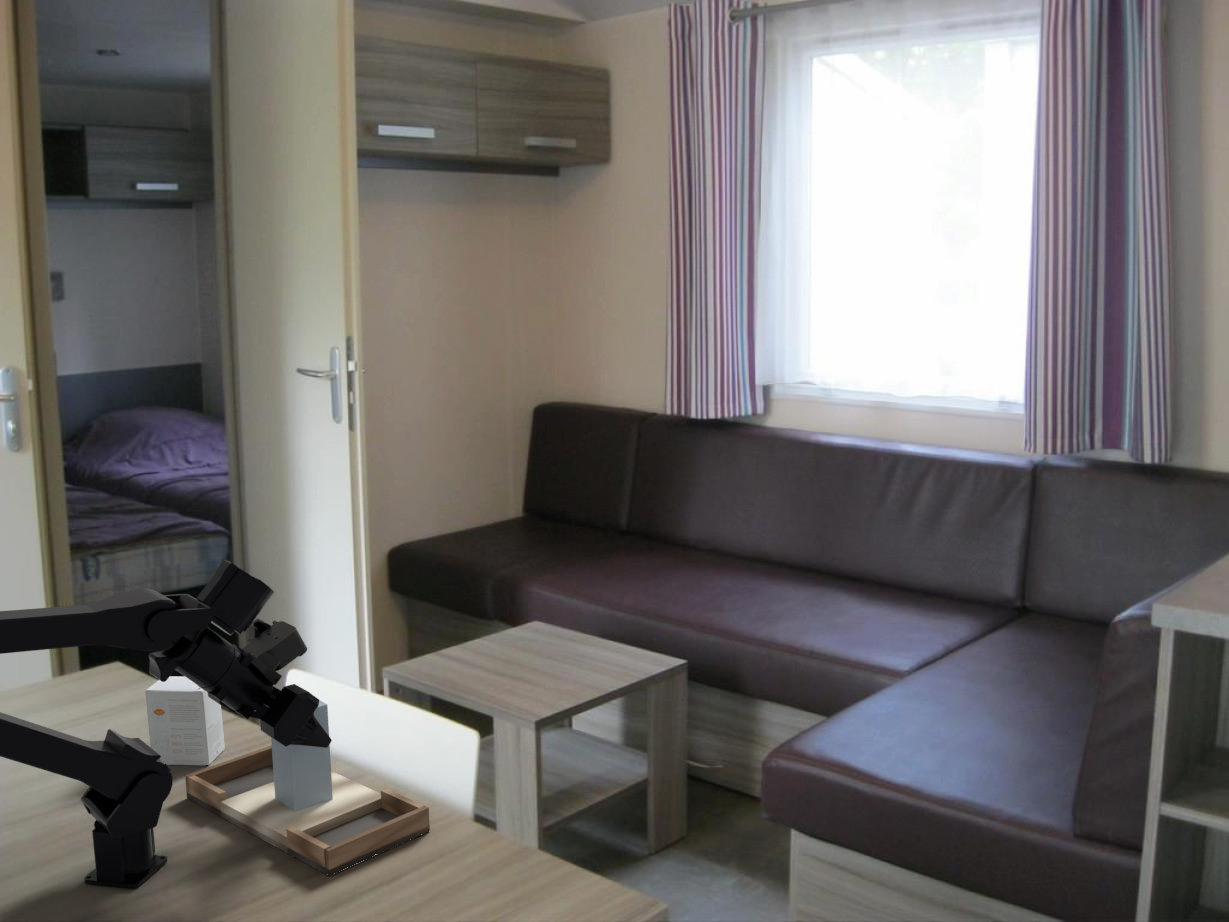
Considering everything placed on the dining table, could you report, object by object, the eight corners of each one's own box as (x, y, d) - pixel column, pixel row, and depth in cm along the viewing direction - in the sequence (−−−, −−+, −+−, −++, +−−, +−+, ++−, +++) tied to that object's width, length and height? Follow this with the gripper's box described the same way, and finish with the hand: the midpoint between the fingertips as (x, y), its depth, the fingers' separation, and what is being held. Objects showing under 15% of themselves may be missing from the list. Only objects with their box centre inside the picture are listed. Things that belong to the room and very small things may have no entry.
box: (429, 831, 152) (428, 807, 151) (329, 876, 142) (328, 851, 141) (283, 763, 172) (282, 741, 171) (186, 798, 162) (185, 775, 161)
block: (332, 799, 156) (327, 704, 154) (294, 811, 153) (288, 715, 151) (312, 786, 160) (307, 693, 158) (275, 798, 157) (268, 703, 155)
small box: (225, 749, 177) (220, 676, 175) (209, 767, 171) (203, 690, 169) (169, 748, 177) (163, 674, 176) (150, 765, 172) (144, 689, 170)
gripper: (297, 625, 142) (390, 696, 152) (225, 590, 156) (313, 657, 166) (234, 711, 139) (332, 779, 148) (166, 667, 153) (259, 732, 162)
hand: (310, 732), depth 156 cm, fingers open, 9 cm apart
